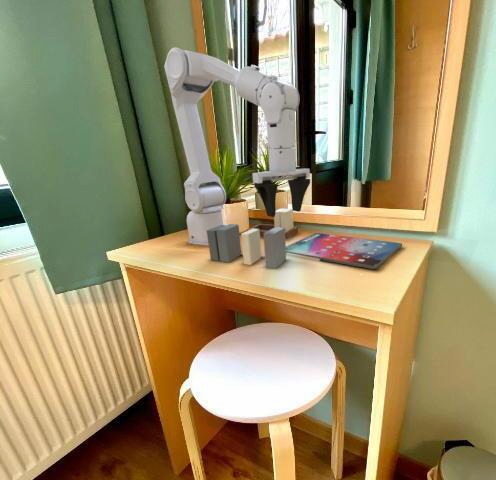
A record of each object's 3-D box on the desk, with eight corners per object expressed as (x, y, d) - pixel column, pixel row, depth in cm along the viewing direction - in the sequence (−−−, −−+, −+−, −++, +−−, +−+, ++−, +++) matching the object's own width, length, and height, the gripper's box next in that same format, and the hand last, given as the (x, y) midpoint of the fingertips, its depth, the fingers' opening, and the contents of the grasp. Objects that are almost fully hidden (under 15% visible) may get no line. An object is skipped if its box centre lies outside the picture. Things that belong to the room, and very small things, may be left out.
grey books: (210, 260, 71) (206, 228, 68) (224, 253, 76) (220, 223, 73) (275, 268, 65) (273, 234, 62) (286, 260, 69) (285, 227, 66)
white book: (244, 264, 68) (241, 233, 65) (254, 257, 72) (252, 228, 70) (250, 265, 67) (248, 234, 65) (261, 257, 72) (259, 228, 69)
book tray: (246, 237, 90) (245, 230, 89) (259, 230, 96) (259, 223, 96) (286, 240, 85) (286, 233, 84) (298, 233, 91) (297, 226, 91)
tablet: (316, 234, 89) (316, 232, 89) (403, 246, 75) (403, 243, 75) (277, 252, 75) (277, 249, 74) (376, 271, 61) (376, 267, 61)
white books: (274, 235, 87) (273, 211, 85) (282, 231, 92) (281, 208, 89) (286, 236, 86) (285, 212, 83) (293, 232, 90) (293, 208, 87)
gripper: (265, 149, 56) (269, 221, 62) (319, 147, 65) (319, 210, 70) (244, 150, 61) (250, 216, 67) (297, 148, 70) (298, 207, 75)
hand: (284, 213), depth 69 cm, fingers open, 7 cm apart
